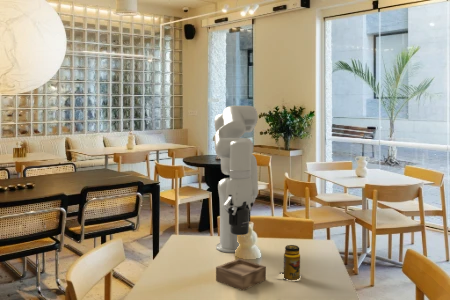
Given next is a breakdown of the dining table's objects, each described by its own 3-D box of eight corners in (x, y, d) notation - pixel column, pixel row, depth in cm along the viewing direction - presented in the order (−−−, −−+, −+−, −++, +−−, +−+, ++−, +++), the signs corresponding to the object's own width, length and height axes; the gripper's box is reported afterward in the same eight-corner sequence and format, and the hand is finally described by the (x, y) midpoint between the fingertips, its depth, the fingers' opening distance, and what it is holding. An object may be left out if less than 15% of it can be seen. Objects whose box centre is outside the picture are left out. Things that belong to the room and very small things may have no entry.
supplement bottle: (247, 236, 176) (247, 202, 174) (228, 234, 177) (228, 201, 176) (250, 230, 182) (250, 199, 181) (232, 229, 184) (232, 198, 182)
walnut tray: (239, 271, 191) (239, 258, 190) (265, 280, 182) (266, 266, 181) (216, 280, 181) (216, 266, 180) (242, 290, 172) (242, 276, 172)
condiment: (299, 282, 180) (299, 250, 179) (276, 279, 183) (276, 248, 181) (302, 275, 187) (302, 244, 186) (280, 272, 190) (280, 242, 188)
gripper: (248, 170, 186) (247, 217, 188) (215, 176, 173) (215, 225, 176) (263, 173, 181) (262, 220, 183) (231, 178, 168) (230, 229, 170)
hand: (239, 222), depth 179 cm, fingers closed on supplement bottle, 6 cm apart
